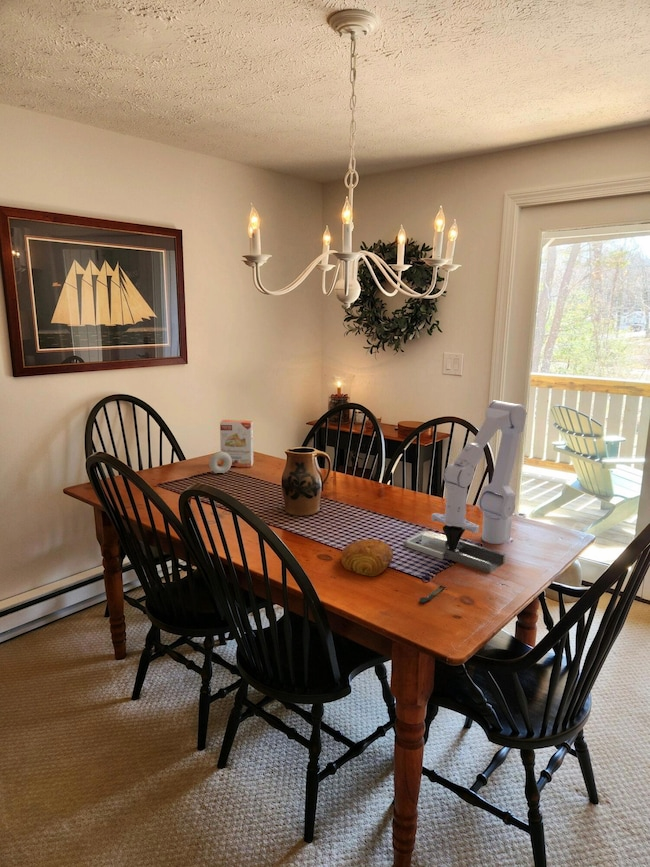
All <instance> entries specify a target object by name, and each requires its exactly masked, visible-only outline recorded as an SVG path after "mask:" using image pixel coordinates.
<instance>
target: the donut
mask: <svg viewBox="0 0 650 867" xmlns="http://www.w3.org/2000/svg"><path fill="white" fill-rule="evenodd" d="M221 459H223V460H224V464H223V465H222V466H221V465H220V466H219V465H218V462H219V461H221ZM208 465H209V468H210V470H211V471H212V472H213V473H215V474H217V473H223V474H226V473H227V472H228V471H229V470H230V469H231V468H232V467H231V465H232V459H231V457H230V455H229V454H228V453H226V452H221V450H220V451H217V452H215V453H213V455H212V456H210V459H209V463H208ZM225 472H226V473H225Z"/></svg>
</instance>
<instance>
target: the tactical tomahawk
mask: <svg viewBox="0 0 650 867" xmlns="http://www.w3.org/2000/svg"><path fill="white" fill-rule="evenodd" d="M446 589H447V587H445V586H443V585H439V586H438V587H437V588H435V589H434V590H433V591H431V592H430V593H429V594H428V595H426V596H425V597H424V596H423V597H419V601H418V602H419V603H421V604H423V603H426V602H427V601H431V600H433V599H434V598H435V597H437V596H438V595H439V594H440V593H441V592H443V591H444V590H446Z"/></svg>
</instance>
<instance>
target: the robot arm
mask: <svg viewBox="0 0 650 867" xmlns="http://www.w3.org/2000/svg"><path fill="white" fill-rule="evenodd" d="M527 414H528V413H527V410H526V408H525V406H524V405H523V404H521V403H512V402H506V401H500V400H498V399H497V400H496V399H494V400H492V401H491V402H489V404H488V407H487V408H486V409H485V419H484V421H483V423H482V425H481V426H480V428H479V430H478V432H477V434H476V436H475V437H474V439H473V440H472V442H468V443H466V444H465V446H464V447H463V448H462V450H461V451H460V453H459V454H458V456H457V457H456V459H455V460H454V462H453V463H451V464H448V465H447V466H446V468H444V473H442V478H443V481H444V485H445V486H444V487H445V489H446V496H445V512H444V514H443V513H438V512H434V513H432V514H431V516H430V518H431V520H430V521H432V522H438V523H441V524H444V526H442V532H444V535H446V537H447V541H448V545H449V549H451V550H454V551H456V550H458V549H457V548H458V547H457V545H458V542H459V541H461V540H460V539H461V538H462V536H463V535H464V533H465V531H467V532H472V534H474V535H475V534H477V533H479V531H480V525H479V524H475V523H474V522H471V521H469V520H467V519H466V511H467V498H468V497H467V496H468V487H469V486H470V485H471V484H472V482H473V479H474V474H475V471H476V470H475V469H476V467H477V466H478V464H479V463H480V462H481V459H482V458H483V457H484V455H485V452H484V448H485V447H486V446H487V444H488V443H489V442H490V440H492V438H493V437H494V436H495V435H496V433H497V432H498V431H499V430H500V432H501V433H502V434H501V437H500V438H501V439H500V443H499V448H498V452H497V457H496V459H495V460H496V461H495V464H494V470H493V473H492V477H491V478H492V479H491V482H489V484H487V485H484V486H483V488H482V492H481V493H480V496H479V498H478V507H479V509H480V510H481V513H482V514H483V516H482V518H483V519H482V527H481V528H482V529H481V539H482V541H484V542H486V543H489V544H492V545H493V544H494V545H499V544H500V545H501V544H502V545H503V544H504V543H506V542H512V541H514V539H513V538H512V537H511V533H512V517H511V516H512V515H513V514H514V513H515V510H516V502H515V501H516V494H515V492H514V491H513V489H512V488H511V486H510V484H511V480H512V477H513V476H512V475H513V471H514V467H515V462H516V458H517V453H518V449H519V444H520V441H521V435H522V432H523V433H524V428H525V423H526V418H527Z"/></svg>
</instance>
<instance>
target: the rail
mask: <svg viewBox="0 0 650 867" xmlns="http://www.w3.org/2000/svg"><path fill="white" fill-rule="evenodd" d="M444 559H447V560H450V561H454V562H457V563H460V564H462V565H465V566H468V567H471V568H473V569H476V570H480V571H483V572H484V573H488V574H491V573H492V572H493V571H495V570H496V569H498V568H499V567H500V566H502V565H503V564H505V562H506V561H505V560H506V553H503V552H500V551H499V552H498V551H496V550H492V549H489V548H486V547H483V546H480V545H477V544H474V543H470V542H469V541H465V540H459V547H458V549H456V550H451V549H448V548H446V549H445V553H444Z"/></svg>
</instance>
